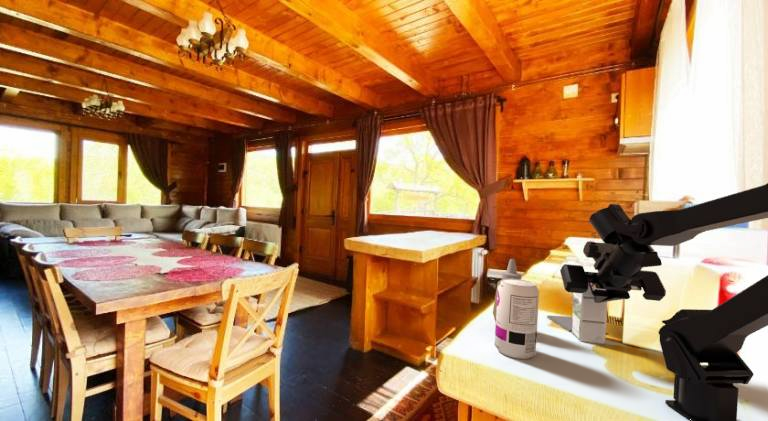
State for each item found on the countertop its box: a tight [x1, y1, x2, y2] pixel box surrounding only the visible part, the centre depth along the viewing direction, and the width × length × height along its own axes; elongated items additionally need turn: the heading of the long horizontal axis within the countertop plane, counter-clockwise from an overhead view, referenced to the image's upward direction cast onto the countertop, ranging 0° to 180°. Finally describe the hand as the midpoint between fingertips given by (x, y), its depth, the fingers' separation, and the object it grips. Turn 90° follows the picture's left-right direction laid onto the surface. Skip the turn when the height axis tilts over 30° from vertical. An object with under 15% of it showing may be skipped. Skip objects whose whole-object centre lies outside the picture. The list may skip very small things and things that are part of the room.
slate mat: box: [546, 315, 572, 333], centre depth 88 cm, size 11×10×1 cm
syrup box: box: [571, 283, 608, 345], centre depth 79 cm, size 6×6×14 cm
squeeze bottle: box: [492, 258, 522, 324], centre depth 82 cm, size 8×8×18 cm
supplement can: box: [494, 278, 540, 360], centre depth 69 cm, size 8×8×15 cm
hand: (595, 300), depth 75 cm, fingers closed
